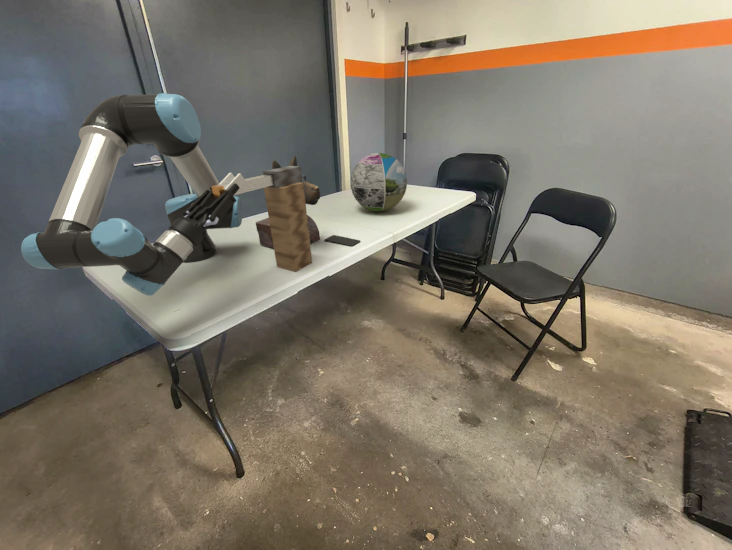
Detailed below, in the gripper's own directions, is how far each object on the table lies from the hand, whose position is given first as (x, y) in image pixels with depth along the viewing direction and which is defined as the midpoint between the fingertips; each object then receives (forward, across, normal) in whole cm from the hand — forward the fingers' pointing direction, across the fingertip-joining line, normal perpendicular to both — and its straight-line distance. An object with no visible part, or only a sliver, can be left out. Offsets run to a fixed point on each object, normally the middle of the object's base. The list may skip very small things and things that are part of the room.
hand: (237, 177), depth 92 cm
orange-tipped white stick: (+1, 0, -6) cm, 6 cm away
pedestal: (-2, 0, -38) cm, 38 cm away
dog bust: (+12, -13, -46) cm, 49 cm away
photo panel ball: (+64, -7, -76) cm, 100 cm away
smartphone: (+22, +2, -52) cm, 57 cm away
